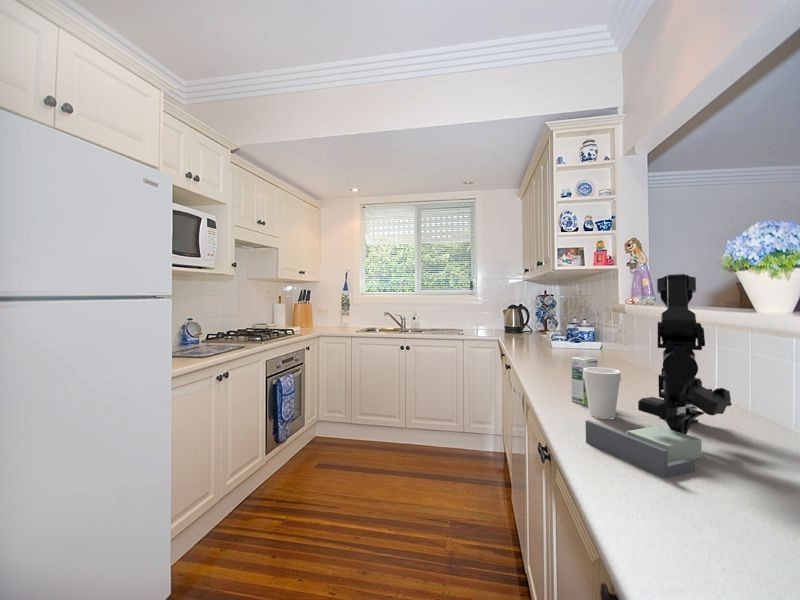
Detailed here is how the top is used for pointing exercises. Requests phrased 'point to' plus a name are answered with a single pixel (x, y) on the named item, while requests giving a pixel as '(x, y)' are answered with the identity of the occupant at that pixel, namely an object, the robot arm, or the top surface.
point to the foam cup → (602, 391)
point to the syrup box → (580, 377)
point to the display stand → (636, 451)
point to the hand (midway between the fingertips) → (680, 441)
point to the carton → (670, 442)
